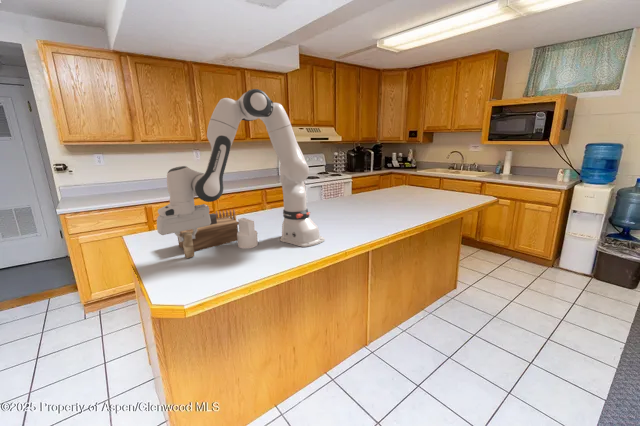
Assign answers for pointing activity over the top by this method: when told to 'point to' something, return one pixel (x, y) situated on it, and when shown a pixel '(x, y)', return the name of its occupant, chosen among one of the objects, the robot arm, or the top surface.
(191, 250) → the pin
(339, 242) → the top surface
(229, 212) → the ammunition clip
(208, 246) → the toolbox
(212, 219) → the lid
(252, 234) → the base with upright slab
